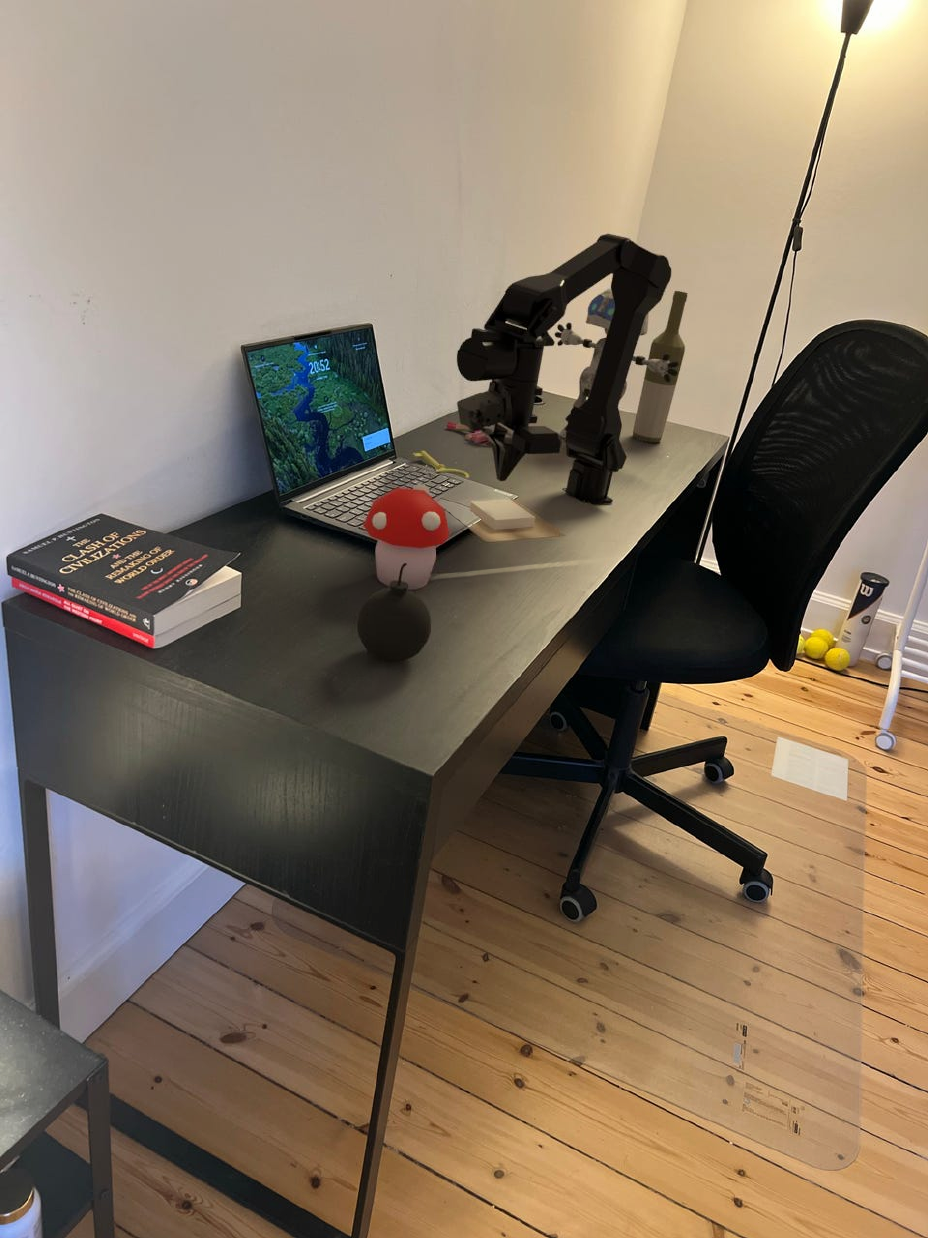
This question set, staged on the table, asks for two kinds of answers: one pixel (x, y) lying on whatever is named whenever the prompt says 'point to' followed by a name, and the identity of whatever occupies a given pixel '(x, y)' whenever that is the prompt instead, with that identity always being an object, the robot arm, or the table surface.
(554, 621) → the table surface
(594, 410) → the robot arm
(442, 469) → the key
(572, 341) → the toy robot
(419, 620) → the bomb
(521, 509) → the tile
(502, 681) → the table surface
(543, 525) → the mat
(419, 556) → the mushroom
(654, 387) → the bottle
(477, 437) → the toy
